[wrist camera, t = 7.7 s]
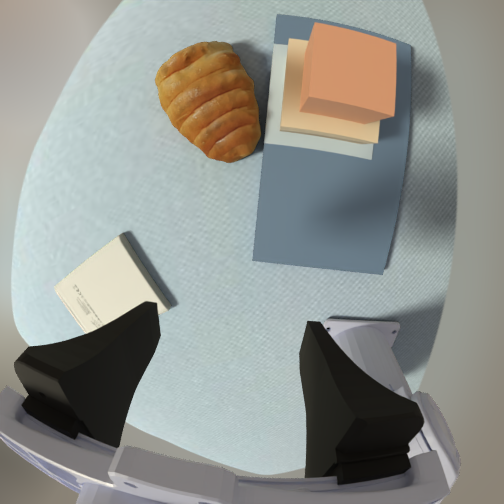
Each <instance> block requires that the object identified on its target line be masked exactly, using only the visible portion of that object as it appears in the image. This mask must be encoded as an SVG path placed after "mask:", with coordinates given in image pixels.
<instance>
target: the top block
mask: <svg viewBox="0 0 504 504" xmlns="http://www.w3.org/2000/svg"><path fill="white" fill-rule="evenodd" d="M395 97H396V43H393V42H390V41H387V40H384V39H381V38H378V37H375V36H372V35H368V34H365V33H361V32H357V31H353V30H349V29H345V28H341V27H337V26H332V25H327V24H322V23H316V22H315V23H314V26H313V29H312V32H311V35H310V38H309V42H308V45H307V48H306V51H305V57H304V69H303V80H302V90H301V100H300V110H299V112H304V113H310V114H316V115H322V116H328V117H333V118H338V119H343V120H347V121H352V122H356V123H361V124H367V123H371V122H375V121H378V120H382V119H386V118H390V117H394V113H395Z"/></svg>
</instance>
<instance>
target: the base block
mask: <svg viewBox="0 0 504 504" xmlns="http://www.w3.org/2000/svg"><path fill="white" fill-rule="evenodd" d="M308 42H309V41H306V40H299V39H291V38H289V42H288V49H287V58H286V69H285V80H284V91H283V101H282V112H281V122H280V131H283V132H291V133H299V134H306V135H313V136H319V137H325V138H331V139H336V140H342V141H347V142H352V143H357V144H374V143H378V136H379V126H380V120H378V121H375V122H371V123H367V124H361V123H356V122H352V121H347V120H343V119H338V118H333V117H328V116H322V115H316V114H310V113H304V112H299V110H300V100H301V90H302V80H303V69H304V57H305V51H306V48H307V45H308Z"/></svg>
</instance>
